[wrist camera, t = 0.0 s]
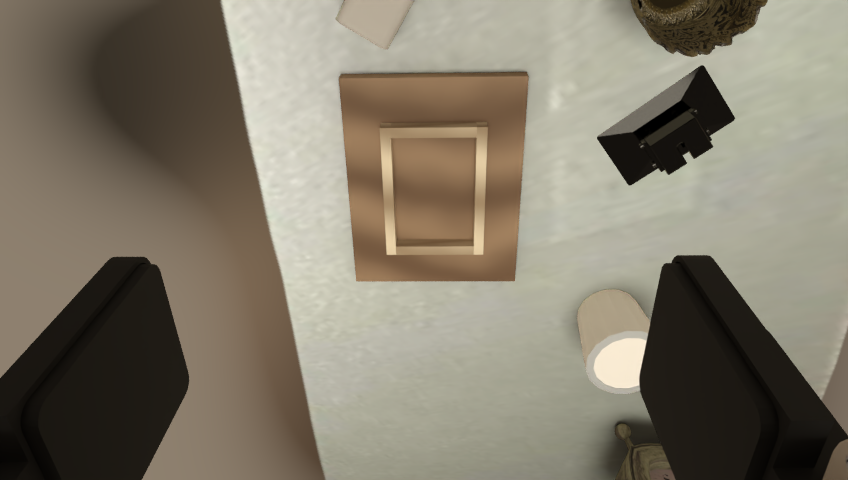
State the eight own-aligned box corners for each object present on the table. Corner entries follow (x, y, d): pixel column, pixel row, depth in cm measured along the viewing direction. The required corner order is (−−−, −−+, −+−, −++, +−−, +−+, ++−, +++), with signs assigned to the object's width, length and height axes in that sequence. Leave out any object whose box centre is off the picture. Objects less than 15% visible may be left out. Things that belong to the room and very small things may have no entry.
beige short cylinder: (646, 337, 57) (670, 389, 51) (573, 347, 58) (588, 399, 52) (644, 277, 54) (670, 326, 48) (567, 289, 55) (582, 338, 49)
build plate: (615, 201, 51) (629, 226, 47) (569, 136, 48) (580, 158, 44) (755, 113, 47) (784, 132, 43) (714, 37, 44) (740, 50, 40)
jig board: (341, 74, 46) (336, 82, 44) (526, 72, 45) (530, 80, 43) (358, 274, 55) (354, 288, 53) (513, 273, 54) (516, 288, 52)
